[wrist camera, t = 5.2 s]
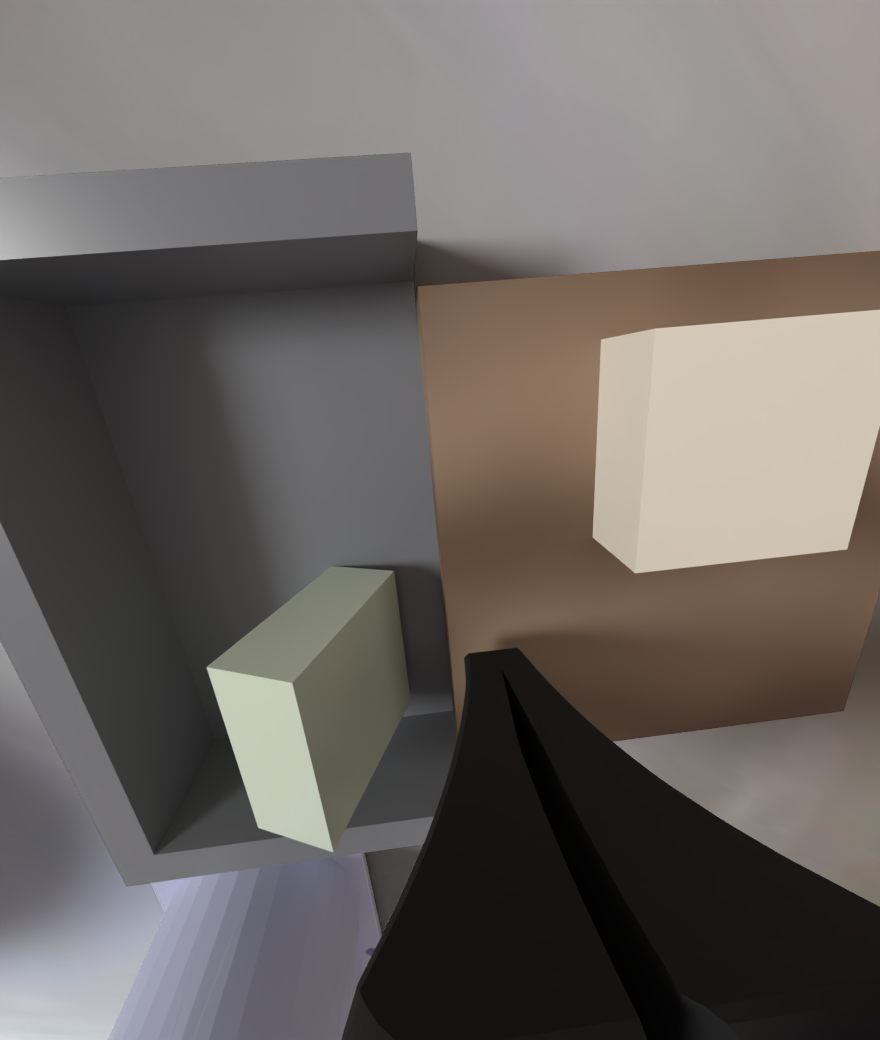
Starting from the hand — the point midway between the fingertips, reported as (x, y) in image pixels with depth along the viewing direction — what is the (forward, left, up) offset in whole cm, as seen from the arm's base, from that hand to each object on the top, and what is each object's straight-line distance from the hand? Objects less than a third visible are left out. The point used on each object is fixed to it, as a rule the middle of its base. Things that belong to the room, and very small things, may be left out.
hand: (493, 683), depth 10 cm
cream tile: (+6, -5, -1) cm, 7 cm away
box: (+3, +5, -3) cm, 7 cm away
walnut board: (+3, -5, -3) cm, 7 cm away
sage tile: (0, +3, 0) cm, 3 cm away
